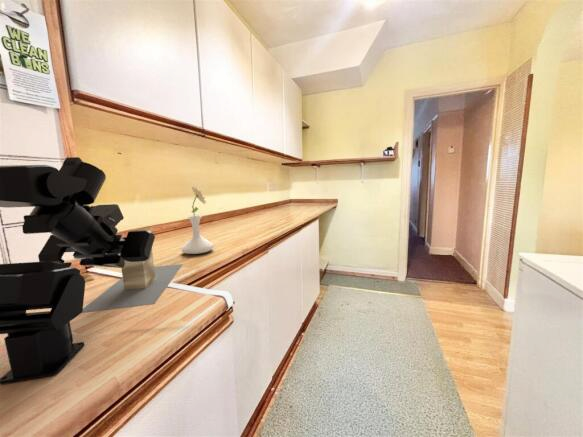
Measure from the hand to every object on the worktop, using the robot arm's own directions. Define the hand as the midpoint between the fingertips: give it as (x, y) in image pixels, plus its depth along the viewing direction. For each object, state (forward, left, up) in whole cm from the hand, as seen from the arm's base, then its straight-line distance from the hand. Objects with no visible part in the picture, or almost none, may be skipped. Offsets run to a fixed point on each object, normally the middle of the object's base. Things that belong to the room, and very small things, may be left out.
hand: (122, 265), depth 53 cm
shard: (+12, +17, -8) cm, 23 cm away
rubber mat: (+7, -1, -8) cm, 10 cm away
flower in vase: (+36, -10, -8) cm, 38 cm away
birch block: (+6, -1, -7) cm, 9 cm away
